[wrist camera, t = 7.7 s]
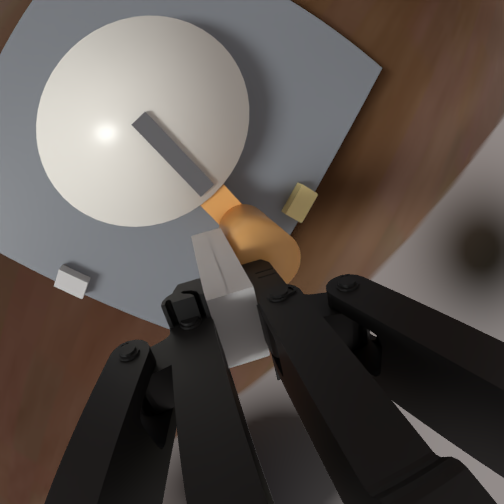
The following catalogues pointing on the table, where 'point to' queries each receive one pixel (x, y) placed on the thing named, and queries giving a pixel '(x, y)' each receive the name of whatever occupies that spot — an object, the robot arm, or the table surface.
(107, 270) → the panel
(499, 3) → the table surface
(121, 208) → the dial
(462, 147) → the table surface
